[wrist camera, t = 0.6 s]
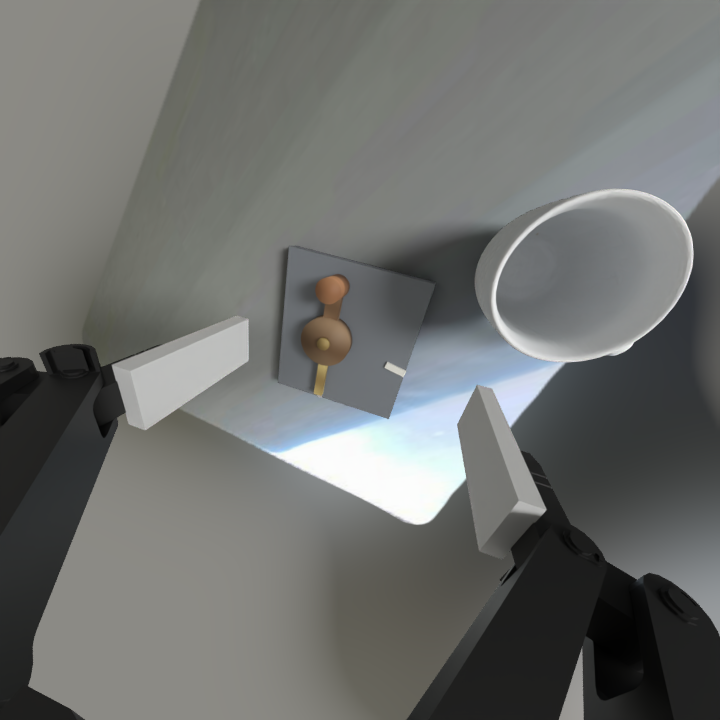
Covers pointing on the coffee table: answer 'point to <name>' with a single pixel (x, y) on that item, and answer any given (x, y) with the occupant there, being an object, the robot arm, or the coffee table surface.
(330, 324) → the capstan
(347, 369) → the board
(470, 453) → the robot arm
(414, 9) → the coffee table surface
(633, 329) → the mug
